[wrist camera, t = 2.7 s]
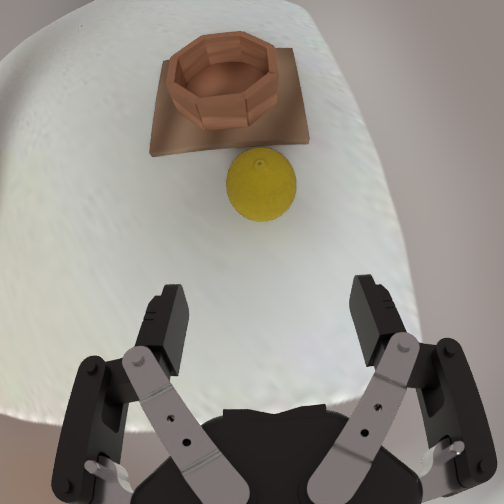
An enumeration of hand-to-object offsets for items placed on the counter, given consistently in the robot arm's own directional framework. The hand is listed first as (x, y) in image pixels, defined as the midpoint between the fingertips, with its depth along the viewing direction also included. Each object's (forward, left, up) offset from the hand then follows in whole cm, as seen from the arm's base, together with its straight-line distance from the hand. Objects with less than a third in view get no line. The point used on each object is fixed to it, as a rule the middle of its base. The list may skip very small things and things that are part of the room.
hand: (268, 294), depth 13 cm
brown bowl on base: (-3, +22, -12) cm, 25 cm away
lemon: (0, +9, -12) cm, 15 cm away
